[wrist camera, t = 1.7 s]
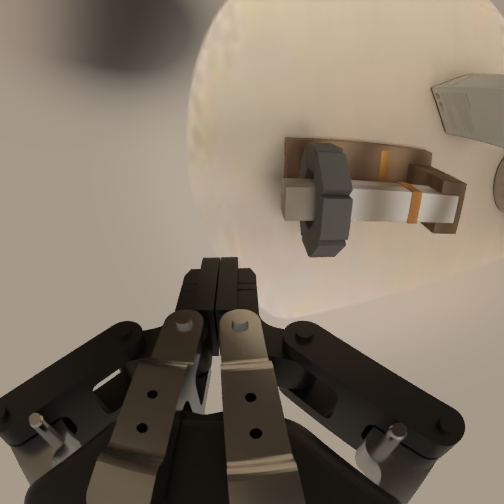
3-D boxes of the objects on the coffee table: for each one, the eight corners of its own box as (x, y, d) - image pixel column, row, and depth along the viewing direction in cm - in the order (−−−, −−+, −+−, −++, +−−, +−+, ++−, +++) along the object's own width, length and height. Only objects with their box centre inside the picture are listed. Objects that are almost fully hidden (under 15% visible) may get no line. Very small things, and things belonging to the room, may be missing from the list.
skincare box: (444, 133, 26) (541, 169, 13) (428, 84, 23) (530, 94, 10) (486, 115, 24) (576, 142, 11) (473, 70, 22) (567, 80, 9)
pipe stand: (425, 150, 27) (472, 169, 20) (414, 216, 31) (453, 249, 23) (274, 137, 27) (287, 150, 19) (273, 214, 30) (283, 253, 23)
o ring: (322, 138, 24) (357, 156, 17) (316, 226, 28) (342, 274, 21) (300, 137, 24) (326, 154, 17) (296, 227, 28) (316, 276, 21)
